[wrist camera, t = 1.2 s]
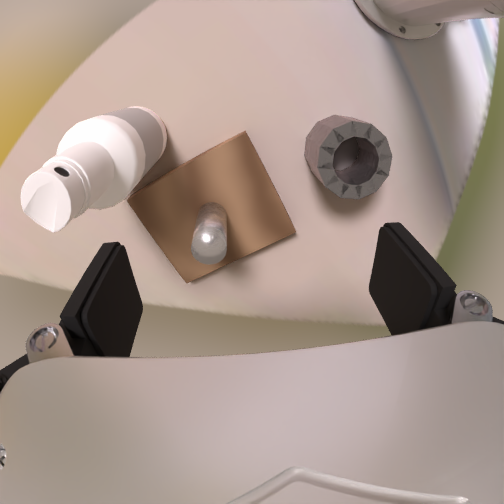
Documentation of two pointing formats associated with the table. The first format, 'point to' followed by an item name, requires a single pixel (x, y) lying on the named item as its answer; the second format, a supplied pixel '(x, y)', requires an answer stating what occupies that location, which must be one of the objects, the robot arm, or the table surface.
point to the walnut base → (219, 191)
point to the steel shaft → (210, 234)
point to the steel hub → (364, 167)
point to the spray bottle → (94, 166)
